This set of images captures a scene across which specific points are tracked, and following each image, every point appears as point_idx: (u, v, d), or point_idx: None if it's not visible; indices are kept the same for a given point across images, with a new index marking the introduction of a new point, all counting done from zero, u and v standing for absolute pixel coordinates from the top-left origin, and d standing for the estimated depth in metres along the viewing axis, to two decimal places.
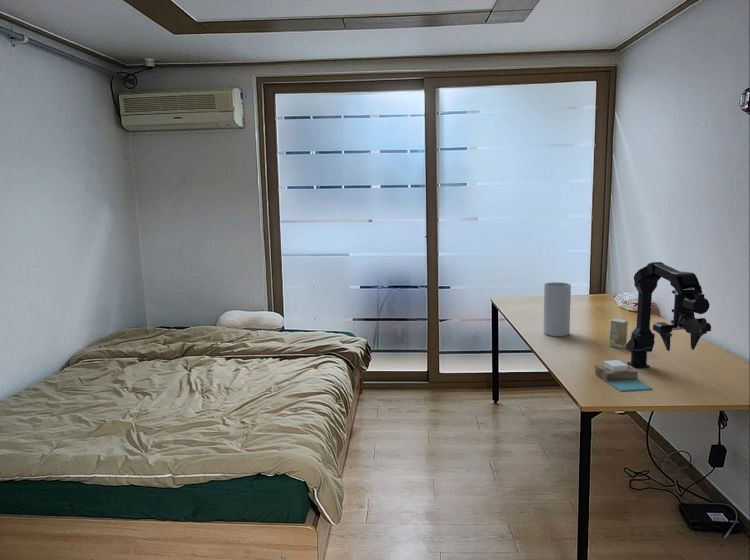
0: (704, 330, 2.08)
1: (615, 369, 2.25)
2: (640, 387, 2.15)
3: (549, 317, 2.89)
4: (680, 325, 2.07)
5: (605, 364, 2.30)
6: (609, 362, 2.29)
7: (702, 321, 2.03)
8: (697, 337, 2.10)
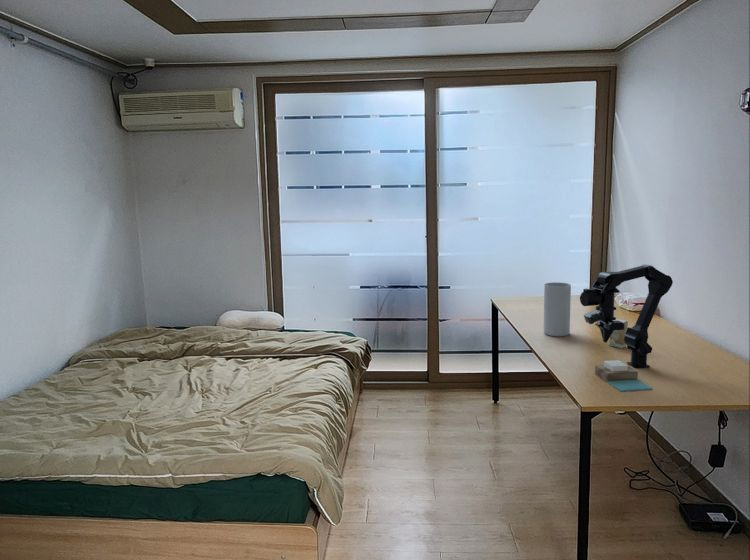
0: (606, 327, 2.28)
1: (615, 369, 2.25)
2: (640, 387, 2.15)
3: (549, 317, 2.89)
4: None
5: (605, 364, 2.30)
6: (609, 362, 2.29)
7: (591, 314, 2.31)
8: (603, 331, 2.34)
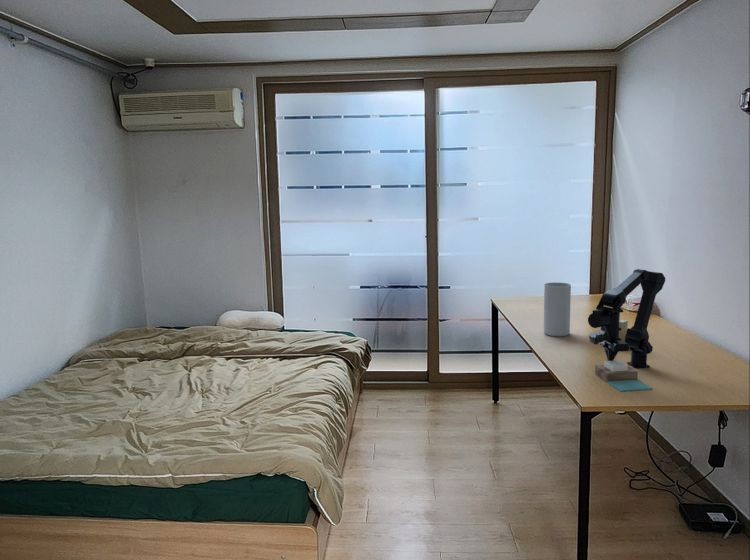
0: (611, 348, 2.25)
1: (615, 369, 2.25)
2: (640, 387, 2.15)
3: (549, 317, 2.89)
4: None
5: (605, 364, 2.30)
6: (609, 362, 2.29)
7: (596, 335, 2.27)
8: (608, 351, 2.31)
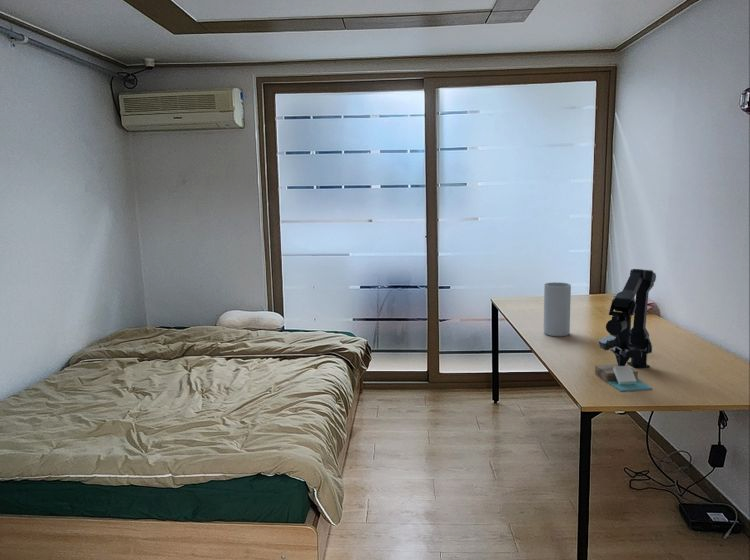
0: (622, 354, 2.16)
1: (622, 383, 2.18)
2: (640, 387, 2.15)
3: (549, 317, 2.89)
4: None
5: (614, 370, 2.22)
6: (619, 370, 2.21)
7: (607, 340, 2.19)
8: (618, 357, 2.23)
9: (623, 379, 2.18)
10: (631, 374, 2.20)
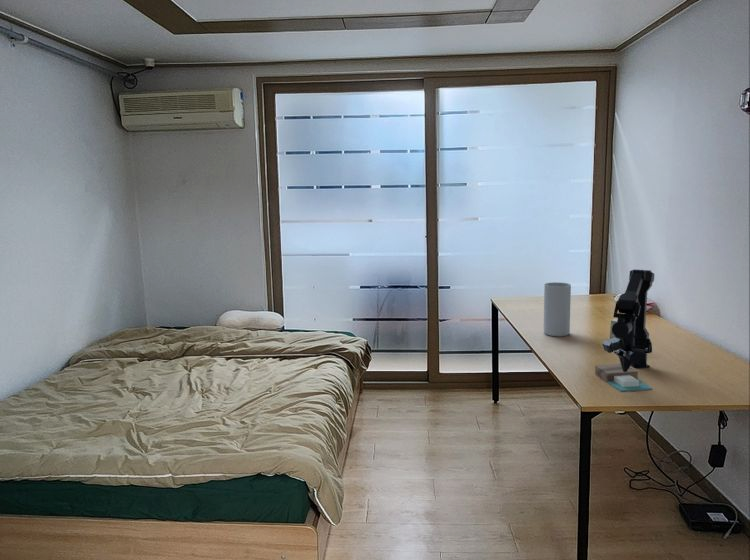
0: (626, 357, 2.14)
1: (626, 385, 2.16)
2: (640, 387, 2.15)
3: (549, 317, 2.89)
4: None
5: (615, 379, 2.22)
6: (619, 377, 2.21)
7: (611, 343, 2.16)
8: (622, 360, 2.20)
9: (625, 380, 2.17)
10: (632, 378, 2.19)
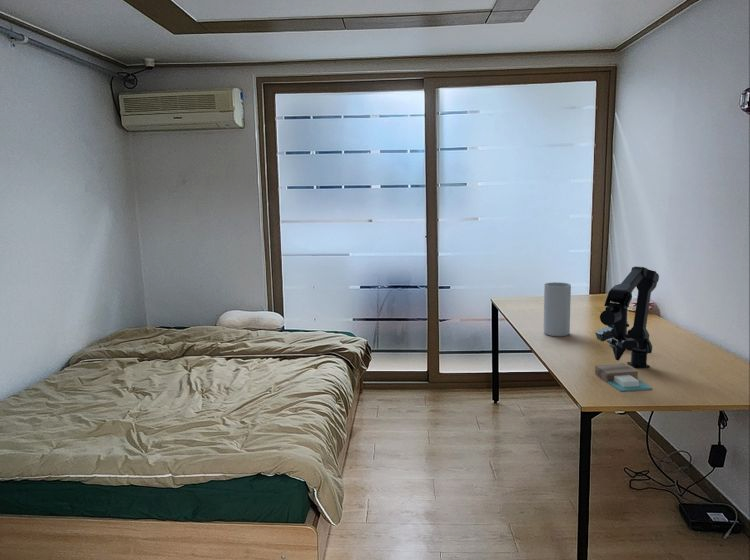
0: (619, 345, 2.19)
1: (626, 385, 2.16)
2: (640, 387, 2.15)
3: (549, 317, 2.89)
4: None
5: (615, 379, 2.22)
6: (619, 377, 2.21)
7: (603, 331, 2.21)
8: (615, 348, 2.25)
9: (625, 380, 2.17)
10: (632, 378, 2.19)
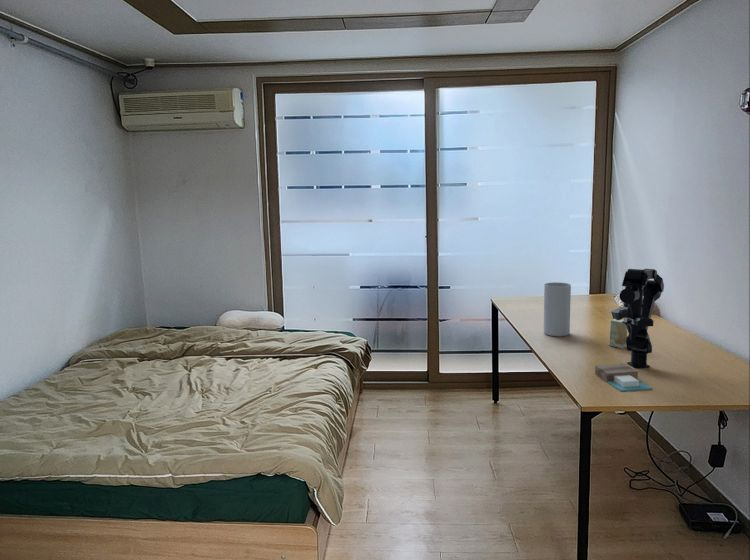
0: (634, 323, 2.24)
1: (626, 385, 2.16)
2: (640, 387, 2.15)
3: (549, 317, 2.89)
4: None
5: (615, 379, 2.22)
6: (619, 377, 2.21)
7: (619, 310, 2.27)
8: (630, 328, 2.30)
9: (625, 380, 2.17)
10: (632, 378, 2.19)
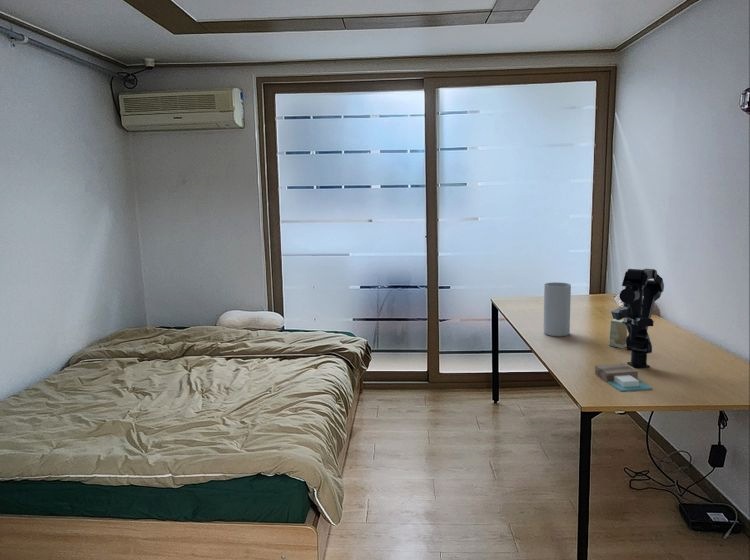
0: (634, 323, 2.24)
1: (626, 385, 2.16)
2: (640, 387, 2.15)
3: (549, 317, 2.89)
4: None
5: (615, 379, 2.22)
6: (619, 377, 2.21)
7: (619, 310, 2.27)
8: (630, 328, 2.30)
9: (625, 380, 2.17)
10: (632, 378, 2.19)
